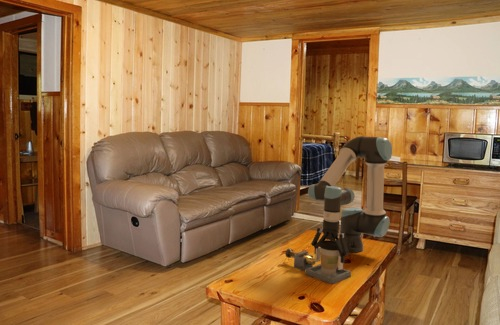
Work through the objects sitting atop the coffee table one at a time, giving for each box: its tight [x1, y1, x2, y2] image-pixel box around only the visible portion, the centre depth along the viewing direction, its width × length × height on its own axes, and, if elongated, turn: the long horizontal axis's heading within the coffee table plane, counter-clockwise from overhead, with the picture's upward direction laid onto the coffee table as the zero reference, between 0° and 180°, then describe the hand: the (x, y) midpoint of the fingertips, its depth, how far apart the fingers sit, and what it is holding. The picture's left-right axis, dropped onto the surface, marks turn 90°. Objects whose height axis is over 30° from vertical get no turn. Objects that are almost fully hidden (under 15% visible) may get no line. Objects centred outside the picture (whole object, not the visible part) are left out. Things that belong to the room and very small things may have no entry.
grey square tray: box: [304, 263, 352, 285], centre depth 191 cm, size 15×15×2 cm
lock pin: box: [284, 248, 317, 266], centre depth 201 cm, size 4×16×4 cm, turn 44°
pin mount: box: [293, 249, 314, 272], centre depth 200 cm, size 7×6×7 cm
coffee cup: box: [319, 239, 340, 277], centre depth 190 cm, size 10×10×15 cm
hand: (328, 265), depth 190 cm, fingers open, 12 cm apart
